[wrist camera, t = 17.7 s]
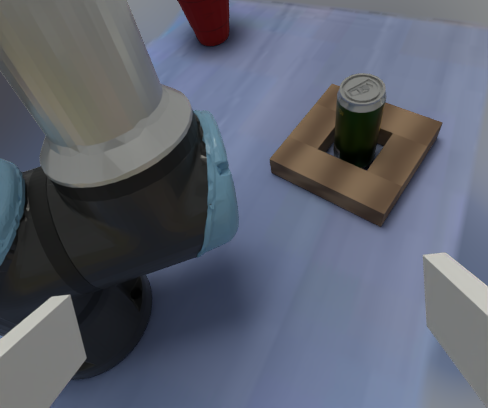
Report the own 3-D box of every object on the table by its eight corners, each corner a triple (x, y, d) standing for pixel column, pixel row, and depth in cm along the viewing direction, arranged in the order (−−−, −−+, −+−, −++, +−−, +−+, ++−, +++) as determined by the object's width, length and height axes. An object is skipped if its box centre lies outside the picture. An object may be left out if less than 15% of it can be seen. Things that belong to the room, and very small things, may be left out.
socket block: (271, 172, 55) (269, 159, 52) (331, 99, 60) (332, 83, 58) (380, 226, 48) (384, 214, 45) (436, 138, 53) (442, 122, 51)
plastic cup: (172, 41, 74) (150, -24, 64) (216, 12, 77) (201, -54, 67) (209, 64, 69) (190, -2, 59) (254, 32, 72) (244, -36, 62)
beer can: (345, 178, 52) (352, 112, 42) (326, 150, 55) (328, 82, 45) (381, 163, 53) (397, 94, 43) (360, 136, 56) (371, 66, 46)
